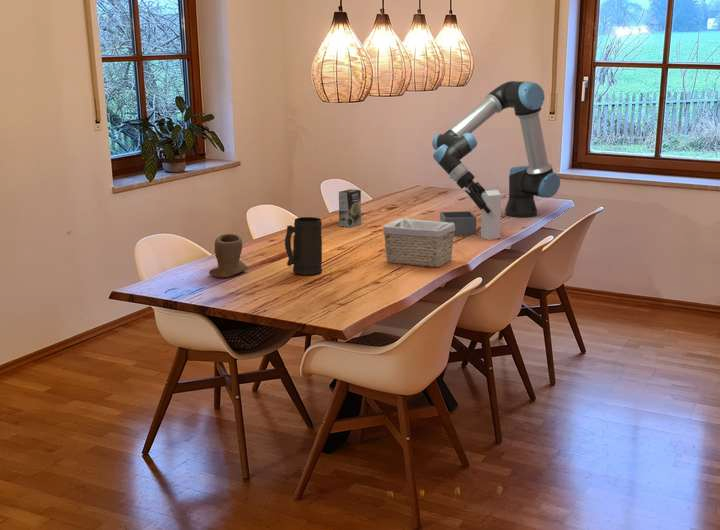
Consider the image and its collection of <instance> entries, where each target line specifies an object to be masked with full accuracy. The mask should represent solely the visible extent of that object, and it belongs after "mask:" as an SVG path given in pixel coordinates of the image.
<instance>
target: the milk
mask: <svg viewBox="0 0 720 530" xmlns="http://www.w3.org/2000/svg"><path fill="white" fill-rule="evenodd" d="M484 189H485V191H484V192H483V193H482V199H483V200H484V202H485V203H486V205H487V204H488V205H489V206H490V207H491V209H492V210H493V211H494V212H495V213H496V214H497V215H498V217H496V218H495V219H494V220H492V219H491V218H490V216H489V215H488V214H487V213H486V212H485V211H484V210H483V209H482V210H480V213H481V215H480V238H482V237H483V239H484V238H485V239H484V240H486V239H493V240H499V239H498V238H500V239H501V217H502V216H501V215H502V214H501V209H502V207H501V205H502V194H501V193H500V191H499V190H498V186H497V185H496V186H495V185H494V186H485V187H484Z"/></svg>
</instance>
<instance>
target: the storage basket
mask: <svg viewBox="0 0 720 530" xmlns="http://www.w3.org/2000/svg"><path fill="white" fill-rule="evenodd" d="M454 230H455V224H454V223H448V222H440V221H436V220H435V221H434V220H424V219H423V220H422V219H413V218H403V217H402V218H398V219H396V220H393V221H391V222H388V223H386V224H384V225H383V229H382V233H383V234H384V242H385V243H384V247H385V254H386V255H385V256H386V262H387V263H391V264H401V265H412V266H417V267H418V266H422V267H429V268H431V267H433V268H439V267H441V266H443V265H445V264H447V263H448V262H450V261H451V260H452V257H453V256H452V255H453V248H454V247H453V244H454V237H455V236H454ZM447 261H448V262H447Z"/></svg>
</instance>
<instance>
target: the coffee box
mask: <svg viewBox="0 0 720 530" xmlns="http://www.w3.org/2000/svg"><path fill="white" fill-rule="evenodd" d="M361 192H362V190H361V189H351V188H349V189H346V190H341V191H338V226H339V227H342V226H344V227H343V228H348V227H350V228H354V227H356V225H357V226H361V225H362V195H361V194H362V193H361ZM360 224H361V225H360ZM353 226H354V227H353Z"/></svg>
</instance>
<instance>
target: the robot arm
mask: <svg viewBox="0 0 720 530" xmlns="http://www.w3.org/2000/svg"><path fill="white" fill-rule="evenodd" d="M544 101H545V92H544V89H543V88H542V87H541V85H540V84H538V83H537V82H534V81H533V82H532V81H517V80H516V81H515V80H510V81H507V82H503V83H502V84H500V85H499V86H497V87H496V88H494V89H493V90H492V91H490V92H488V94H487V95H485V99H484V100H483V101H482V102H480V103H479V104H478V105H477V106H475V107H474V108H473V109H472V110H471V111H470V112H468V113H467V114H466V115H464V116H463V117H462V118H461V119H460V120H458V121H457V122H456V123H455V124H454V125H453V126H451V127H450V128H449V129H448V130H446V131H445V132H444V133H439V134H435V135H434V137H433V138H432V140H431V143H432V144H431V145H432V148H433V149H434V150H435V151H434V152H433V154H432V157H433V159H434V160H435V161H436V163H437V164H438V165H439V166H440V167H441V168H442V169H443V170H444V171H445V172H446V174H447V175H449V178H450V179H451V180H453V181H454V182H456V185H457V186H458V187H459V188H460V189H464V188H465V190H464V192H465V193H466V194H467V195H468V197H470V199H471V200H472V201H473V203H475V205H476V206H477V207H478V209H479V210H480V211H481V210H482V209H483V210H484V211H485V212H486V213H487V214H488V215H489V216H490V218H491V219H492V220H494V219H495V218H496V217H498V215H497V214H496V213H495V212H494V211H493V210H492V209H491V207H490V206H489V205H488V204H487V205H486V203H485V202H484V200H483V199H482V193H483V192H484V191H485V187H483V186H482V185H481V184H480V182H475V181H474V179H475V175H474V174H473V173H472V172H471V170H470V171H469V169H468V167H466V165H465V164H464V163H463V162H462V161H461V160H462V159H463V158H465V157H466V156H467V155H468V154H470V153H471V152H472V151H474V149H475V148H477V146H478V141H477V138H476V137H475V135H473V134H472V133H473V132H474V131H475V130H477V129H478V128H479V127H480V126H481V125H483V123H485V122H486V121H488V119H490V118H491V117H492V116H494V115H495V114H496V113H497V114H499V113H501V112H502V111H503V110H505V109H508V108H512V109H513V112H514V114H515V116H516V117H518V119H519V122H520V127H521V133H522V137H523V142H524V147H525V153H526V158H527V163H528V165H521V166H520V165H519V166H513V167H511V168H510V169H509V175H508V200H507V202H506V206H505V208H504V210H503V209H502V208H501V215H502V214H504V215H505V216H508V217H513V218H530V217H535V216H537V214H538V208H537V205H536V201H535V196H536V197H540V198H546V199H547V198H548V199H549V198H552V197H554V196H555V195H556V193H558V191H559V189H560V187H561V178H560V176H559V174H557V173H556V172H554V170H553V169H554V168H553V166H552V164H551V163H549V162H548V156H547V149H546V145H545V139H544V136H543V135H544V134H543V130H542V124H541V118H540V112H541V111H542V106H543V104H544Z"/></svg>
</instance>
